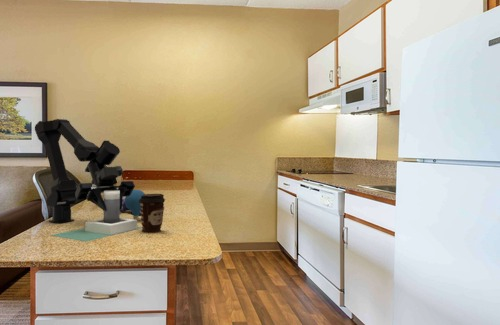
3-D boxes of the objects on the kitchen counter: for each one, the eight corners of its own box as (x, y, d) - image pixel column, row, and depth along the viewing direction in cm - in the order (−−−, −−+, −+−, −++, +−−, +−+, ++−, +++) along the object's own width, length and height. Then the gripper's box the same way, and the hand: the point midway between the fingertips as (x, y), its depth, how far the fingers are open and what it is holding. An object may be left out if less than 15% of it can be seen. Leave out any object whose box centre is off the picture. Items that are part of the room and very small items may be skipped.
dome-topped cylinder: (100, 227, 132) (100, 191, 131) (111, 225, 136) (112, 189, 136) (111, 229, 129) (111, 192, 129) (122, 226, 134) (123, 190, 133)
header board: (49, 238, 123) (49, 225, 123) (109, 225, 145) (109, 214, 145) (86, 244, 116) (86, 231, 116) (143, 230, 138) (143, 218, 137)
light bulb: (140, 223, 151) (141, 191, 150) (120, 221, 152) (120, 190, 152) (150, 219, 159) (150, 189, 158) (131, 218, 160) (131, 188, 160)
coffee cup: (170, 232, 135) (170, 193, 135) (156, 237, 127) (157, 196, 127) (147, 230, 138) (148, 192, 137) (133, 235, 130) (133, 195, 130)
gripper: (78, 158, 128) (91, 196, 121) (132, 157, 141) (148, 192, 133) (69, 180, 134) (82, 218, 127) (122, 178, 147) (136, 212, 139)
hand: (113, 209), depth 131 cm, fingers closed on dome-topped cylinder, 5 cm apart
